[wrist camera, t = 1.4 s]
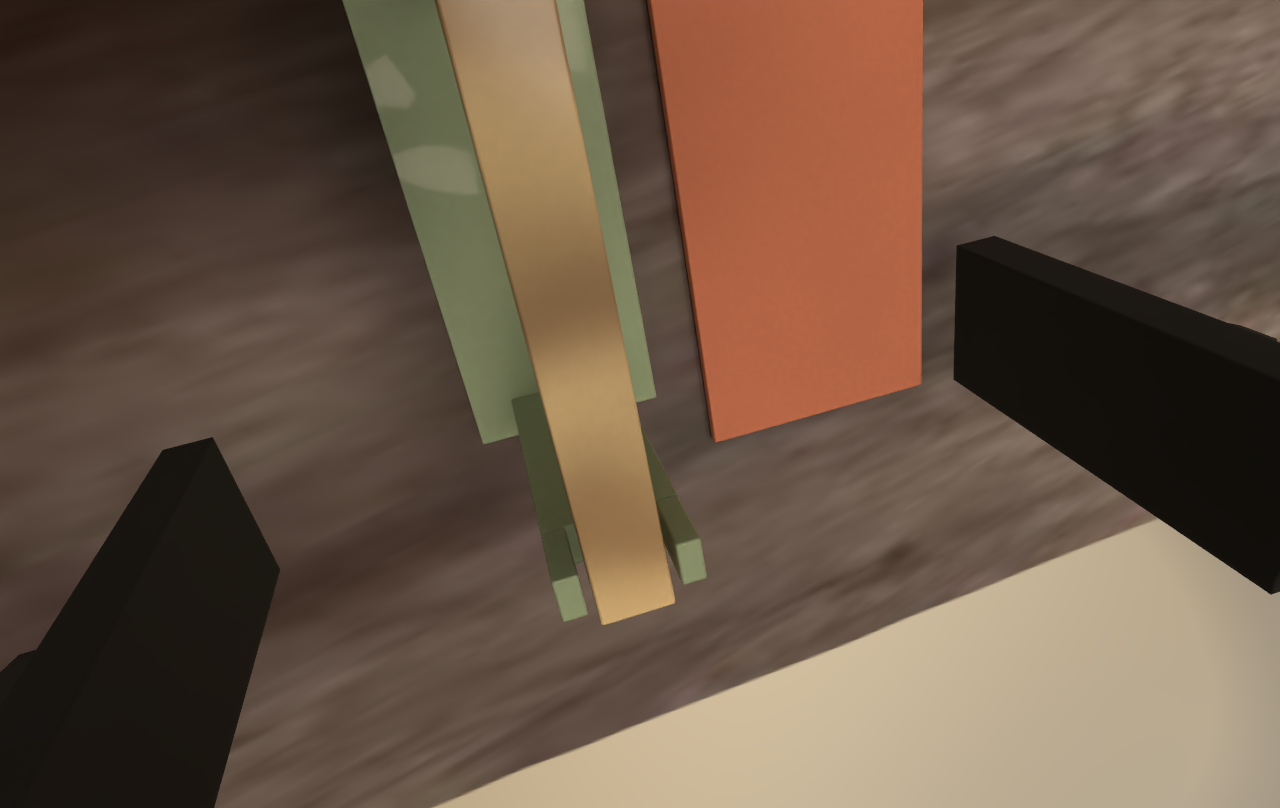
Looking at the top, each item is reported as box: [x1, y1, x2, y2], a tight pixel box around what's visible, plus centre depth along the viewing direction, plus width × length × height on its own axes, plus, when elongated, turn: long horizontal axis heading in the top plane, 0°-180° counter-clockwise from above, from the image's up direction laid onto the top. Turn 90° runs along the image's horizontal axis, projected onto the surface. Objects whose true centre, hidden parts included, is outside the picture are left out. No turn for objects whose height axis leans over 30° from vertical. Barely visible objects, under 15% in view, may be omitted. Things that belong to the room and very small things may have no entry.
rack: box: [342, 0, 707, 622], centre depth 24 cm, size 21×8×14 cm, turn 10°
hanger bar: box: [434, 0, 675, 625], centre depth 20 cm, size 22×2×2 cm, turn 10°
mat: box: [647, 0, 923, 442], centre depth 33 cm, size 24×11×1 cm, turn 10°
